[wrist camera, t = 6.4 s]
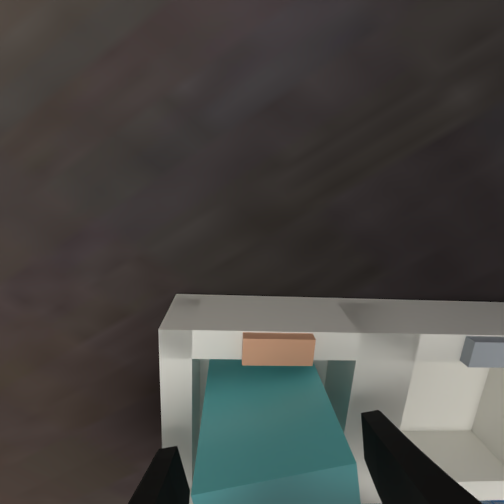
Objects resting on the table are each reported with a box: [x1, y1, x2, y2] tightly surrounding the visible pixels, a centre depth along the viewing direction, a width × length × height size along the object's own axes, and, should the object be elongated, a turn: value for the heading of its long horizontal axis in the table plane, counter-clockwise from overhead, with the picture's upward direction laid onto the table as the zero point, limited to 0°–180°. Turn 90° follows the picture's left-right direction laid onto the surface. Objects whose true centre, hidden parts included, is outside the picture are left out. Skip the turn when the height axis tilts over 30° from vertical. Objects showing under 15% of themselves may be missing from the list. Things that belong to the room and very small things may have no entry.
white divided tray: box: [158, 294, 504, 504], centre depth 12 cm, size 16×8×3 cm, turn 87°
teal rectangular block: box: [191, 359, 361, 504], centre depth 10 cm, size 4×4×6 cm
